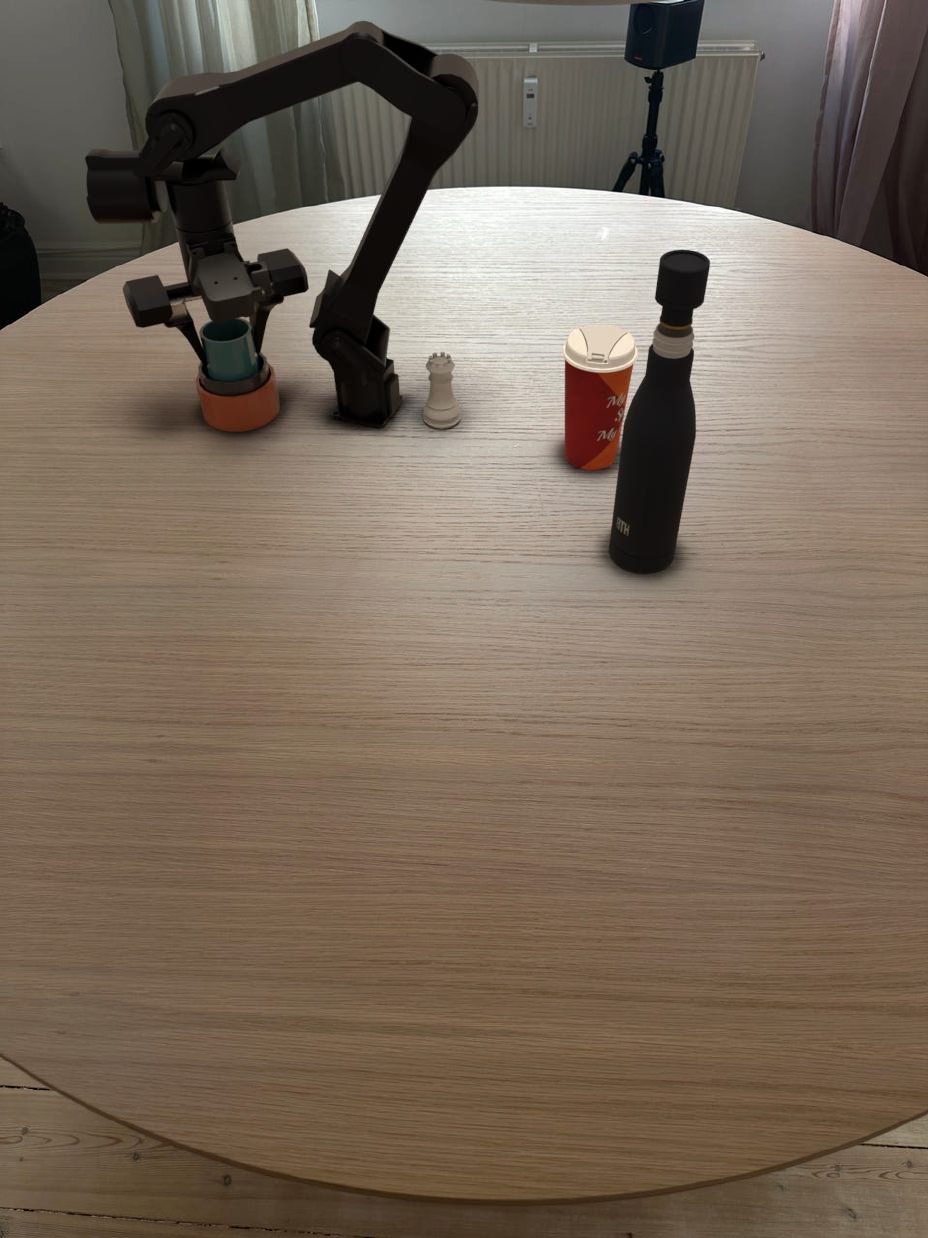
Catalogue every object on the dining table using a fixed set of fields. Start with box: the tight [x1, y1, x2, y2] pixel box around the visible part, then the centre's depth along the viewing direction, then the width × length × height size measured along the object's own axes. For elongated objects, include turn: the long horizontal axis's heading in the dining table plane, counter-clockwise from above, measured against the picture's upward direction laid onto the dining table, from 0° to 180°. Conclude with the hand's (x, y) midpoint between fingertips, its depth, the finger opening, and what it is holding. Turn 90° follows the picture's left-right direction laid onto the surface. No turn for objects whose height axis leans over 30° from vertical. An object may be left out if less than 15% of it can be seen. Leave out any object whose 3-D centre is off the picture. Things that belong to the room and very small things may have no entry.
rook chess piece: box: [422, 351, 462, 430], centre depth 111 cm, size 4×4×8 cm
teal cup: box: [198, 317, 260, 382], centre depth 111 cm, size 6×6×8 cm
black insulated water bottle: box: [608, 249, 711, 574], centre depth 86 cm, size 6×6×30 cm
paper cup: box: [561, 324, 639, 471], centre depth 104 cm, size 8×8×14 cm
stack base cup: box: [195, 361, 281, 433], centre depth 114 cm, size 9×9×4 cm
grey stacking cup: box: [197, 352, 270, 396], centre depth 114 cm, size 8×8×6 cm
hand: (231, 357), depth 111 cm, fingers closed on teal cup, 6 cm apart
